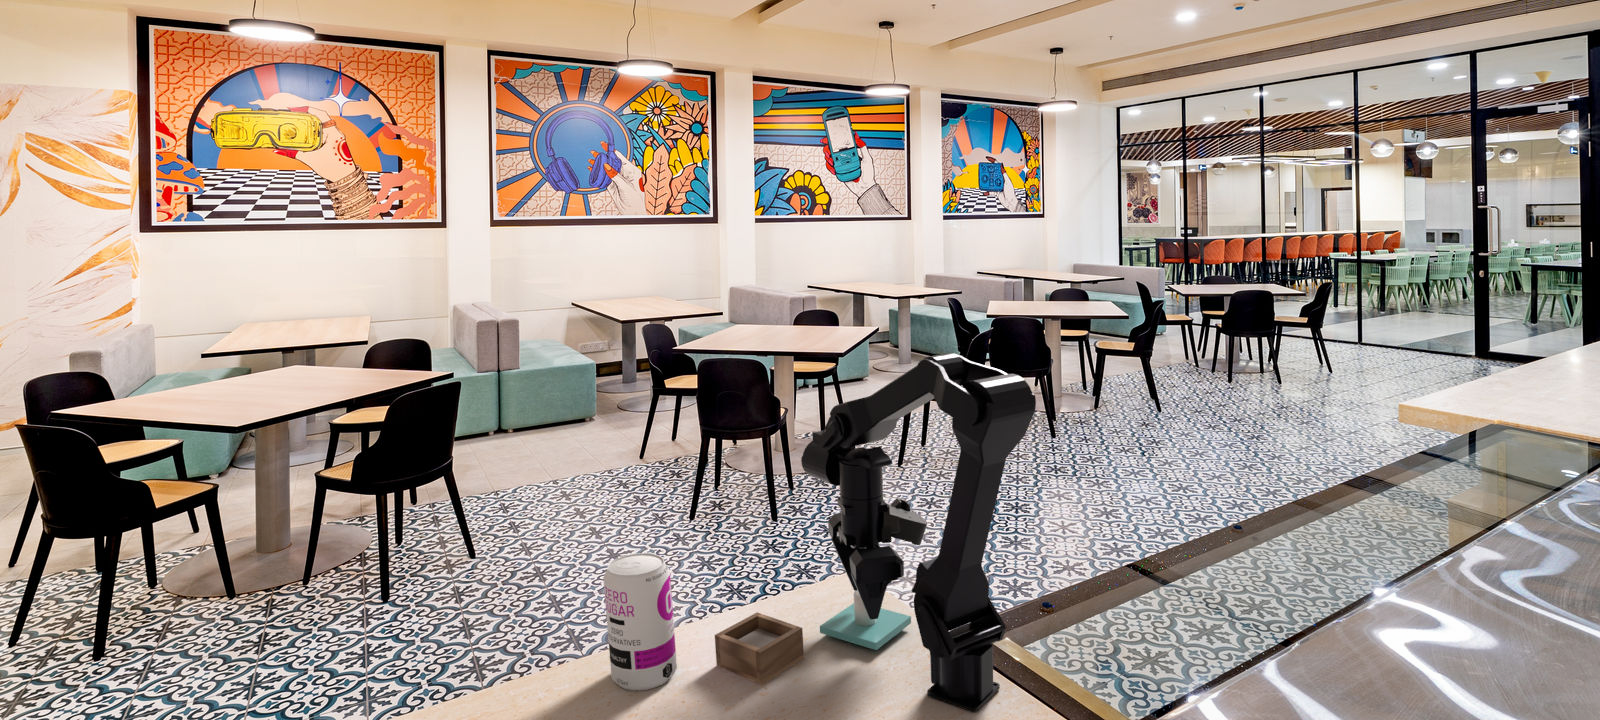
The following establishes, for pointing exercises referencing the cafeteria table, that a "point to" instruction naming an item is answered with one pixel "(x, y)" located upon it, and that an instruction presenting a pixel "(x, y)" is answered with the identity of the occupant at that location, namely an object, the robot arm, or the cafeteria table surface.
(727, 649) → the box
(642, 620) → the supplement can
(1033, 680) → the cafeteria table surface
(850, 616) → the lid
